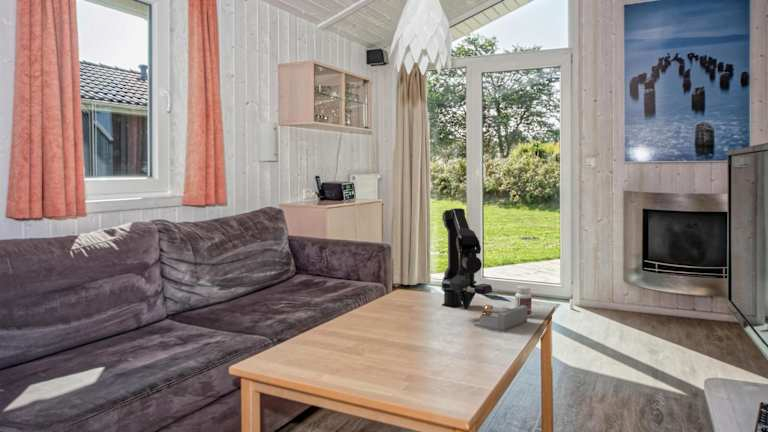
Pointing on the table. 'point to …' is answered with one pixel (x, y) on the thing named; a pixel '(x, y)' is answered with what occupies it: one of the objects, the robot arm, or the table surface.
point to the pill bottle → (523, 298)
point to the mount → (504, 319)
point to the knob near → (490, 314)
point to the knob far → (494, 308)
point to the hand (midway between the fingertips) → (466, 309)
